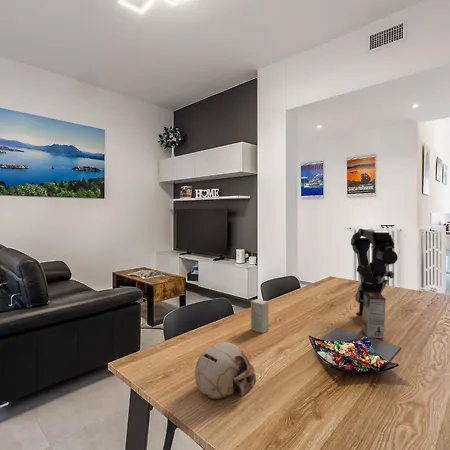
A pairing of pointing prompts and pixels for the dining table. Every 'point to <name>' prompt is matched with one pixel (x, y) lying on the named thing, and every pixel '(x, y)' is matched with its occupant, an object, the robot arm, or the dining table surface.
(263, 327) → the skincare box
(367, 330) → the coffee box
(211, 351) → the coin bank
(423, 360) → the dining table surface
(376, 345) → the mat
